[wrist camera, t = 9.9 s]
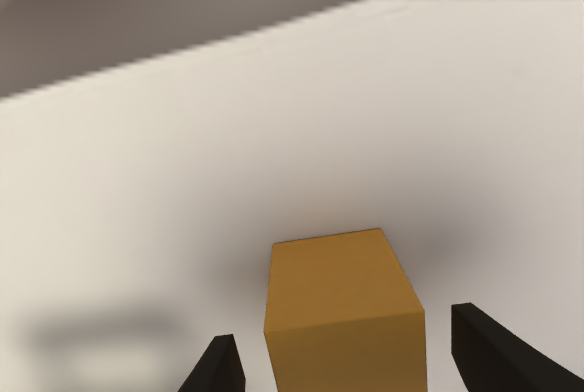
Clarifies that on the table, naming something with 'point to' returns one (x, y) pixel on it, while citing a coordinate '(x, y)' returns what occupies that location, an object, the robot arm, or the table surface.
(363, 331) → the block
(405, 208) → the table surface
